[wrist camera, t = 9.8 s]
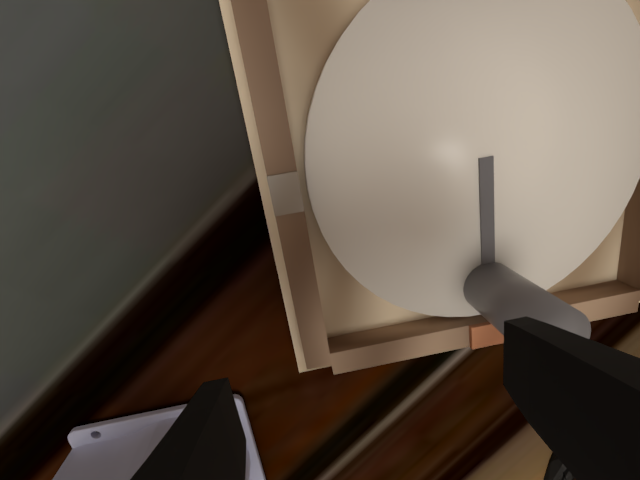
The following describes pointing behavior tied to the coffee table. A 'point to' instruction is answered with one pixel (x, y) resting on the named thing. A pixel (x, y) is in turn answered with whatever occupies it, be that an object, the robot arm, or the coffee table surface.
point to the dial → (476, 150)
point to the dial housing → (302, 227)
